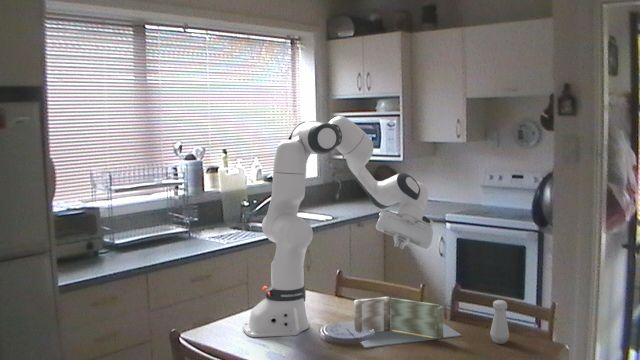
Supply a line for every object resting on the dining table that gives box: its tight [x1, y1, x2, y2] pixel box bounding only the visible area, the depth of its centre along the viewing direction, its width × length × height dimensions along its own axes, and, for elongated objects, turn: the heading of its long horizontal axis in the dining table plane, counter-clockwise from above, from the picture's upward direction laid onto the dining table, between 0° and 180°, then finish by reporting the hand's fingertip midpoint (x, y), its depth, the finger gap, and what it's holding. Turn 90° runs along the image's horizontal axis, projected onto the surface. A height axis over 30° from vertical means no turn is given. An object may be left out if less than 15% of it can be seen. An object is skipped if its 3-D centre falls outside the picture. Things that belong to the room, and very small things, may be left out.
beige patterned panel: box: [353, 296, 391, 332], centre depth 202 cm, size 12×3×11 cm, turn 106°
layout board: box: [359, 323, 462, 349], centre depth 202 cm, size 33×18×1 cm, turn 106°
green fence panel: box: [390, 297, 445, 340], centre depth 198 cm, size 18×2×10 cm, turn 59°
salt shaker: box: [489, 299, 510, 345], centre depth 192 cm, size 6×6×13 cm
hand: (398, 246), depth 213 cm, fingers closed
